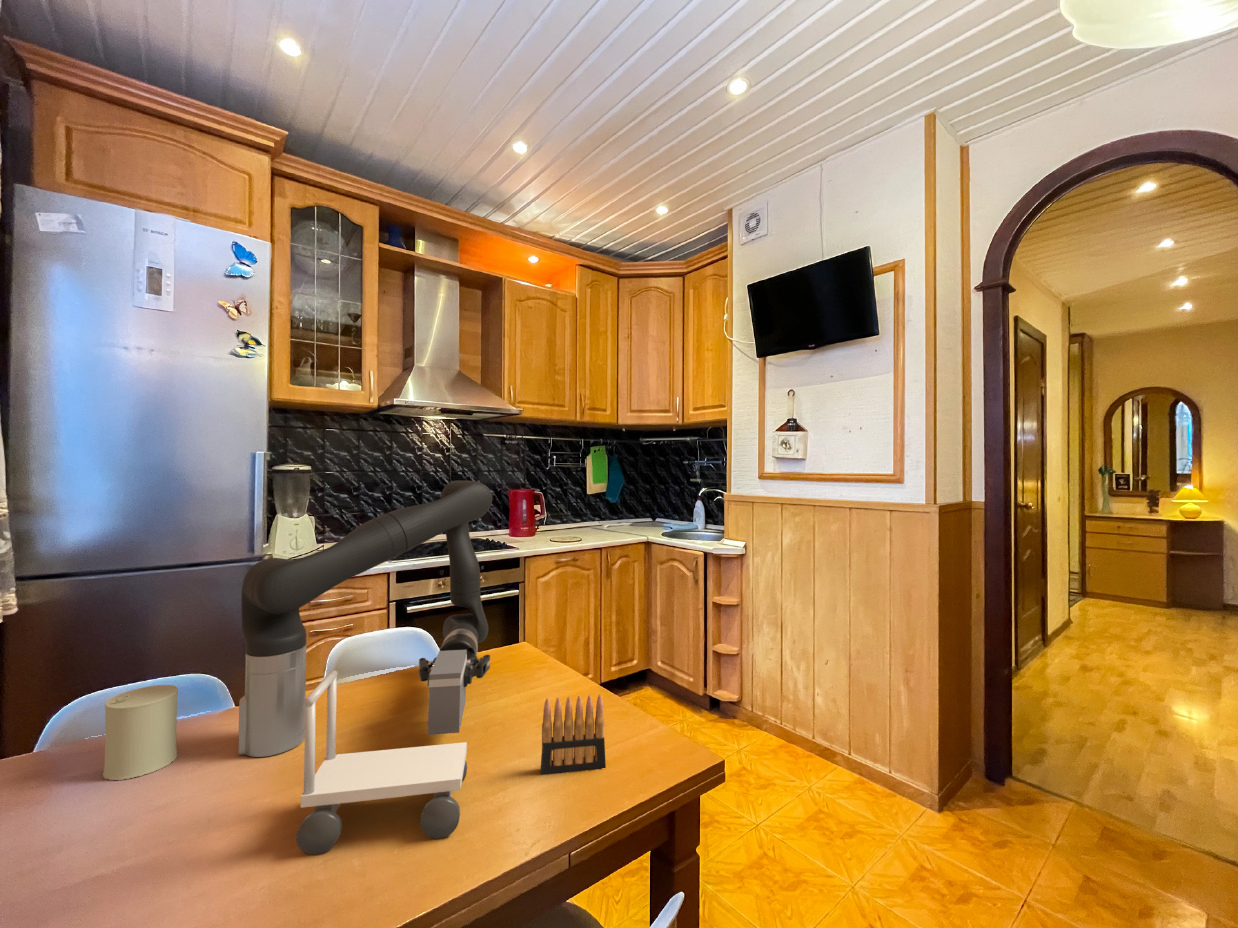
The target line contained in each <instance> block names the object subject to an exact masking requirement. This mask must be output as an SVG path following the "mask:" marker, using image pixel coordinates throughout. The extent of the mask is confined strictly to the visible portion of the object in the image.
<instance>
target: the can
mask: <svg viewBox="0 0 1238 928" xmlns="http://www.w3.org/2000/svg"><path fill="white" fill-rule="evenodd" d="M178 692H179V687H178V686H176V685H174V684H171V685H170V684H159V685H157V684H156V685H150V686H145V687H140V688H135V689H131V690H128V691H124V692H122V693H120V694H117V695H114V696H112V697H111V698H109V699H108V700H107V701H106V702H105V703H104V707H105V710H104V711H105V714H104V715H105V720H104V721H105V723H104V724H105V730H104V731H105V733H104V735H105V736H104V766H103V773H102V777H103V778H104V779H105V780H107V779H109V780H108V781H113V780H118V781H125V780H124V779H127V780H131V779H130V778H133V779H135V778H134V777H137V776H141V777H143V776H142V775H144V774H147V775H149V774H148V773H150V772H153V773H154V771H155V772H157V771H159V769H160V770H162V769H163V767H164V768H166V767H167V766H168V765H170V764H171V762H172V761H173V762H174V761H175V760H176V759H177V757H178V750H177V727H178V726H177V723H178V721H177V720H178V695H179V694H178ZM173 762H172V763H173ZM165 766H166V767H165ZM161 768H162V769H161ZM156 770H157V771H156ZM150 774H151V773H150ZM144 776H145V775H144ZM137 778H138V777H137Z"/></svg>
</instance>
